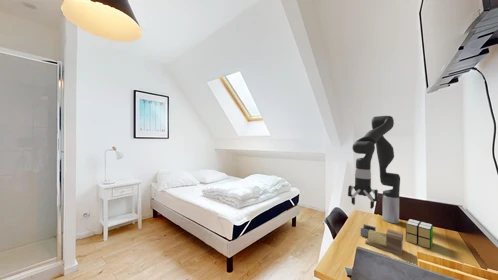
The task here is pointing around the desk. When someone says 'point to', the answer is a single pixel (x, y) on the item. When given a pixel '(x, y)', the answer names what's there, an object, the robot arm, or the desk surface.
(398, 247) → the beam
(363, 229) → the cradle
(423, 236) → the puzzle cube
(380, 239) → the axle bar
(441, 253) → the desk surface
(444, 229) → the desk surface
